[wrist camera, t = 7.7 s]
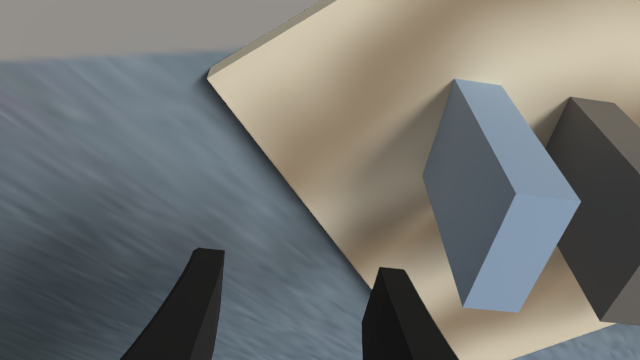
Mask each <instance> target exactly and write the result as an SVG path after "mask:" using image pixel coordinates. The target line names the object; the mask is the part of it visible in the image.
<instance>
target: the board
mask: <svg viewBox="0 0 640 360" xmlns="http://www.w3.org/2000/svg"><path fill="white" fill-rule="evenodd" d="M207 79H208V81H209V82H210V83H211V85H212V86H213V87H214V88H215V90H216V91H217V92H218V94H219V95H220V96H221V97H222V99H223V100H224V101H225V103H226V104H227V105H228V106H229V108H230V109H231V110H232V111H233V113H234V114H235V115H236V117H237V118H238V119H239V120H240V122H241V123H242V124H243V126H244V127H245V128H246V129H247V131H248V132H249V133H250V134H251V136H252V137H253V138H254V140H255V141H256V142H257V143H258V145H259V146H260V147H261V149H262V150H263V151H264V152H265V154H266V155H267V156H268V158H269V159H270V160H271V161H272V163H273V164H274V165H275V166H276V168H277V169H278V170H279V172H280V173H281V174H282V175H283V177H284V178H285V179H286V181H287V182H288V183H289V184H290V186H291V187H292V188H293V189H294V191H295V192H296V193H297V195H298V196H299V197H300V198H301V200H302V201H303V202H304V204H305V205H306V206H307V207H308V209H309V210H310V211H311V212H312V214H313V215H314V216H315V218H316V219H317V220H318V221H319V223H320V224H321V225H322V227H323V228H324V229H325V230H326V232H327V233H328V234H329V236H330V237H331V238H332V239H333V241H334V242H335V243H336V244H337V246H338V247H339V248H340V250H341V251H342V252H343V253H344V255H345V256H346V257H347V259H348V260H349V261H350V262H351V264H352V265H353V266H354V267H355V269H356V270H357V271H358V273H359V274H360V275H361V276H362V278H363V279H364V280H365V282H366V283H367V284H368V285H369V287H370V288H371V289H373V286H374V282H375V279H376V276H377V273H378V270H379V267H386V268H396V269H404V270H405V271H406V273H407V274H408V276H409V278H410V280H411V281H412V283H413V285H414V287H415V289H416V290H417V292H418V294H419V296H420V298H421V299H422V301H423V303H424V305H425V306H426V308H427V310H428V311H429V313H430V315H431V316H432V318H433V320H434V321H435V323H436V325H437V326H438V328H439V329H440V331H441V333H442V334H443V336H444V337H445V339H446V340H447V342H448V343H449V345H450V347H451V348H452V350H453V351H454V353H455V354H456V356H457V357H458V359H459V360H511V359H514V358H517V357H520V356H523V355H526V354H529V353H532V352H534V351H537V350H540V349H543V348H546V347H549V346H552V345H555V344H558V343H561V342H564V341H566V340H569V339H572V338H575V337H578V336H581V335H584V334H587V333H590V332H593V331H596V330H599V329H601V328H604V327H607V326H610V325H613V324H616V323H609V322H600V321H599V319H598V317H597V316H596V314H595V312H594V310H593V309H592V307H591V305H590V303H589V301H588V300H587V298H586V296H585V294H584V293H583V291H582V289H581V287H580V286H579V284H578V282H577V280H576V278H575V277H574V275H573V273H572V271H571V270H570V268H569V266H568V264H567V263H566V261H565V259H564V257H563V255H562V254H561V252H560V250H559V248H558V247H557V245H556V247H555V249H554V250H553V252H552V254H551V256H550V258H549V259H548V261H547V263H546V265H545V266H544V268H543V270H542V272H541V274H540V275H539V277H538V279H537V281H536V282H535V284H534V286H533V288H532V289H531V291H530V293H529V295H528V297H527V298H526V300H525V302H524V304H523V305H522V307H521V309H520V311H519V313H516V312H505V311H495V310H485V309H474V308H464V307H462V304H461V300H460V297H459V294H458V291H457V287H456V284H455V281H454V278H453V274H452V271H451V268H450V265H449V261H448V258H447V255H446V252H445V249H444V245H443V242H442V239H441V236H440V232H439V229H438V226H437V223H436V219H435V216H434V213H433V210H432V206H431V203H430V200H429V197H428V193H427V190H426V187H425V184H424V181H423V177H422V175H423V172H424V169H425V166H426V163H427V160H428V157H429V154H430V151H431V148H432V145H433V142H434V139H435V136H436V133H437V130H438V127H439V124H440V121H441V118H442V115H443V112H444V109H445V106H446V103H447V100H448V97H449V94H450V91H451V88H452V85H453V82H454V79H461V80H468V81H475V82H482V83H489V84H496V85H501V86H502V87H503V89H504V90H505V91H506V93H507V94H508V96H509V97H510V99H511V100H512V102H513V103H514V105H515V106H516V107H517V109H518V110H519V112H520V113H521V115H522V116H523V118H524V119H525V121H526V122H527V123H528V125H529V126H530V128H531V129H532V131H533V132H534V134H535V135H536V137H537V138H538V139H539V141H540V142H541V144H542V145H543V147H544V148H546V146H547V144H548V141H549V139H550V137H551V135H552V133H553V131H554V129H555V127H556V125H557V123H558V121H559V119H560V117H561V114H562V112H563V110H564V108H565V106H566V104H567V102H568V100H569V98H570V97H577V98H584V99H591V100H598V101H604V102H611V103H615V104H616V105H617V106H618V107H619V108H620V109H621V110H622V111H623V112H624V113H625V114H626V115H627V116H628V117H629V118H630V119H631V120H632V121H633V122H634V123H635V124H636V125H638V126H639V127H640V0H321V1H319V2H318V3H316V4H314V5H313V6H311V7H310V8H308V9H306V10H305V11H303V12H301V13H300V14H298V15H296V16H295V17H293V18H291V19H290V20H288V21H286V22H285V23H283V24H282V25H280V26H278V27H277V28H275V29H274V30H272V31H270V32H268V33H267V34H265V35H263V36H262V37H260V38H258V39H257V40H255V41H254V42H252V43H250V44H248V45H247V46H245V47H244V48H242V49H240V50H239V51H237V52H235V53H234V54H232V55H230V56H229V57H227V58H225V59H224V60H222V61H220V62H219V63H217V64H215V65H214V66H212V67H211V68H210V71H209V74H208V77H207Z"/></svg>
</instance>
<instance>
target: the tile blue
mask: <svg viewBox="0 0 640 360" xmlns="http://www.w3.org/2000/svg"><path fill="white" fill-rule="evenodd" d="M422 177H423V181H424V184H425V187H426V190H427V193H428V197H429V200H430V203H431V206H432V210H433V213H434V216H435V219H436V223H437V226H438V229H439V232H440V236H441V239H442V242H443V245H444V249H445V252H446V255H447V258H448V261H449V265H450V268H451V271H452V274H453V278H454V281H455V284H456V287H457V291H458V294H459V297H460V300H461V304H462V307H464V308H474V309H485V310H495V311H505V312H516V313H519V311H520V309H521V307H522V305H523V304H524V302H525V300H526V298H527V297H528V295H529V293H530V291H531V289H532V288H533V286H534V284H535V282H536V281H537V279H538V277H539V275H540V274H541V272H542V270H543V268H544V266H545V265H546V263H547V261H548V259H549V258H550V256H551V254H552V252H553V250H554V249H555V247H556V245H557V243H558V242H559V240H560V238H561V236H562V235H563V233H564V231H565V229H566V227H567V226H568V224H569V222H570V220H571V219H572V217H573V215H574V213H575V211H576V210H577V208H578V206H579V204H580V203H581V201H580V199H579V198H578V196H577V195H576V193H575V192H574V190H573V189H572V187H571V186H570V185H569V183H568V182H567V180H566V179H565V177H564V176H563V174H562V173H561V171H560V170H559V169H558V167H557V166H556V164H555V163H554V161H553V160H552V158H551V157H550V155H549V154H548V153H547V151H546V150H545V148H544V147H543V145H542V144H541V142H540V141H539V139H538V138H537V137H536V135H535V134H534V132H533V131H532V129H531V128H530V126H529V125H528V123H527V122H526V121H525V119H524V118H523V116H522V115H521V113H520V112H519V110H518V109H517V107H516V106H515V105H514V103H513V102H512V100H511V99H510V97H509V96H508V94H507V93H506V91H505V90H504V89H503V87H502V86H501V85H496V84H489V83H482V82H475V81H468V80H461V79H454V82H453V85H452V88H451V91H450V94H449V97H448V100H447V103H446V106H445V109H444V112H443V115H442V118H441V121H440V124H439V127H438V130H437V133H436V136H435V139H434V142H433V145H432V148H431V151H430V154H429V157H428V160H427V163H426V166H425V169H424V172H423V175H422Z"/></svg>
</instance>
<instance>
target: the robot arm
mask: <svg viewBox="0 0 640 360" xmlns="http://www.w3.org/2000/svg"><path fill="white" fill-rule="evenodd" d="M224 254H225V251H224V250H214V249H205V248H198V249H196V250H194V251H193V253H192V255H191V258H190V260H189V262H188V264H187V266H186V267H185V269H184V271H183V273H182V275H181V276H180V278H179V280H178V281H177V283H176V284H175V286H174V288H173V289H172V291H171V292H170V294H169V295H168V297H167V298H166V300H165V301H164V303H163V304H162V306H161V307H160V308H159V310H158V311H157V313H156V314H155V316H154V317H153V318H152V320H151V321H150V322H149V324H148V325H147V326H146V328H145V329H144V330H143V331H142V333H141V334H140V335H139V337H138V338H137V339H136V340H135V342H134V343H133V344H132V346H131V347H130V348H129V349H128V350H127V352H126V353H125V354H124V355H123V356H122V358H121V359H120V360H211V359H212V355H213V351H214V345H215V339H216V332H217V326H218V319H219V313H220V303H221V291H222V279H223V266H224ZM362 348H363V360H459V359H458V357H457V356H456V354H455V353H454V351H453V350H452V348H451V347H450V345H449V343H448V342H447V340H446V339H445V337H444V336H443V334H442V333H441V331H440V329H439V328H438V326H437V325H436V323H435V321H434V320H433V318H432V316H431V315H430V313H429V311H428V310H427V308H426V306H425V305H424V303H423V301H422V299H421V298H420V296H419V294H418V292H417V290H416V289H415V287H414V285H413V283H412V281H411V280H410V278H409V276H408V274H407V273H406V271H405V270H404V269H396V268H386V267H379V270H378V273H377V276H376V279H375V282H374V286H373V289H372V292H371V295H370V298H369V301H368V305H367V308H366V311H365V314H364V317H363V320H362Z"/></svg>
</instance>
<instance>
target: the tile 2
mask: <svg viewBox="0 0 640 360" xmlns="http://www.w3.org/2000/svg"><path fill="white" fill-rule="evenodd" d="M545 150H546V151H547V153H548V154H549V155H550V157H551V158H552V160H553V161H554V163H555V164H556V166H557V167H558V169H559V170H560V171H561V173H562V174H563V176H564V177H565V179H566V180H567V182H568V183H569V185H570V186H571V187H572V189H573V190H574V192H575V193H576V195H577V196H578V198H579V199H580V201H581V203H580V204H579V206H578V208H577V210H576V211H575V213H574V215H573V217H572V219H571V220H570V222H569V224H568V226H567V227H566V229H565V231H564V233H563V235H562V236H561V238H560V240H559V242H558V243H557V247H558V248H559V250H560V252H561V254H562V255H563V257H564V259H565V261H566V263H567V264H568V266H569V268H570V270H571V271H572V273H573V275H574V277H575V278H576V280H577V282H578V284H579V286H580V287H581V289H582V291H583V293H584V294H585V296H586V298H587V300H588V301H589V303H590V305H591V307H592V309H593V310H594V312H595V314H596V316H597V317H598V319H599V321H600V322H609V323H619V324H630V325H640V127H639V126H638V125H636V124H635V123H634V122H633V121H632V120H631V119H630V118H629V117H628V116H627V115H626V114H625V113H624V112H623V111H622V110H621V109H620V108H619V107H618V106H617V105H616V104H615V103H611V102H604V101H598V100H591V99H584V98H577V97H570V98H569V100H568V102H567V104H566V106H565V108H564V110H563V112H562V114H561V117H560V119H559V121H558V123H557V125H556V127H555V129H554V131H553V133H552V135H551V137H550V139H549V141H548V144H547V146H546V148H545Z"/></svg>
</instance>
